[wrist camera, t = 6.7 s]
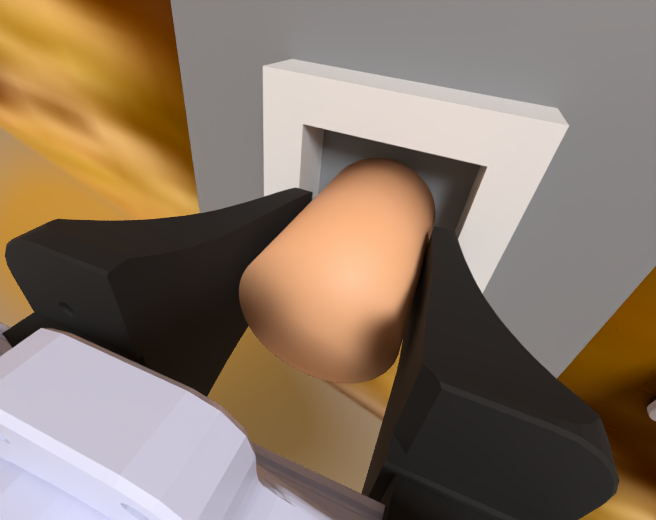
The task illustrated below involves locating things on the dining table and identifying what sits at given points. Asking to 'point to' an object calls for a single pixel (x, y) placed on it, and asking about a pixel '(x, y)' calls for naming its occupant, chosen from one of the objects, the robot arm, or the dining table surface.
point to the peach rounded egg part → (343, 274)
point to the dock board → (450, 132)
